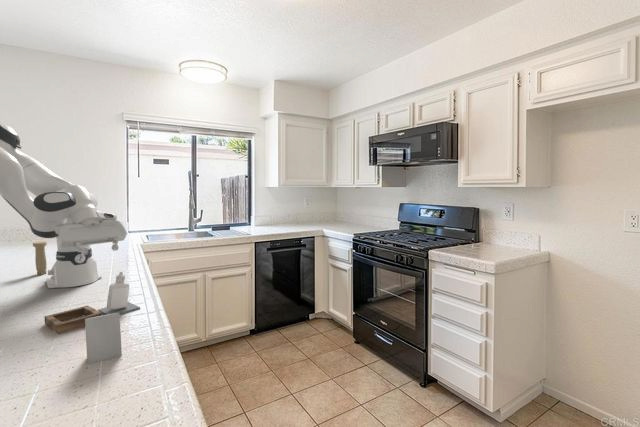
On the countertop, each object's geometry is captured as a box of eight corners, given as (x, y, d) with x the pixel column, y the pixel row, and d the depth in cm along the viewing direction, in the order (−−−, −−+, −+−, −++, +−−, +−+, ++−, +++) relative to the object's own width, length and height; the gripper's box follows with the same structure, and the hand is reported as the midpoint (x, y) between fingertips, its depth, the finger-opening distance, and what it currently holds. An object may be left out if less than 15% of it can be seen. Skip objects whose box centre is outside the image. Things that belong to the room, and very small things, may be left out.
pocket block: (44, 324, 96) (44, 316, 96) (88, 312, 105) (87, 305, 105) (57, 334, 90) (57, 325, 90) (102, 321, 99) (102, 313, 99)
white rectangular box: (121, 355, 79) (119, 315, 78) (87, 364, 75) (84, 321, 74) (120, 349, 82) (118, 310, 81) (87, 357, 78) (85, 316, 77)
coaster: (98, 311, 107) (98, 309, 107) (127, 303, 114) (127, 301, 114) (110, 317, 102) (110, 315, 102) (140, 308, 109) (140, 307, 109)
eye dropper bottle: (126, 309, 106) (130, 273, 106) (105, 310, 104) (110, 272, 104) (127, 305, 110) (131, 270, 110) (107, 305, 108) (112, 269, 108)
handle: (34, 276, 149) (32, 243, 148) (35, 273, 154) (32, 241, 152) (48, 274, 152) (46, 242, 151) (48, 271, 157) (46, 240, 156)
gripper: (54, 218, 109) (67, 250, 104) (120, 214, 125) (134, 241, 120) (50, 230, 112) (63, 262, 107) (115, 225, 128) (128, 252, 123)
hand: (101, 251), depth 114 cm, fingers open, 8 cm apart
